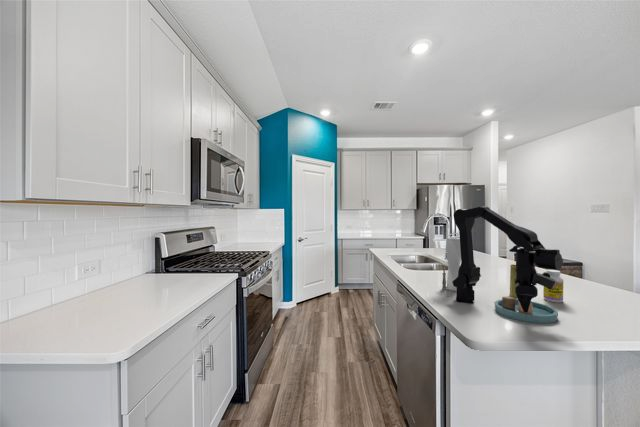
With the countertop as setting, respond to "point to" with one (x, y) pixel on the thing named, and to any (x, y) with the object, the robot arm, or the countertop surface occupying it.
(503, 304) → the bead walnut
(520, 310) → the bead terracotta
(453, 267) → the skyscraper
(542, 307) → the teal round plate
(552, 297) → the supplement bottle
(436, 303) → the countertop surface
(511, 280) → the vase
